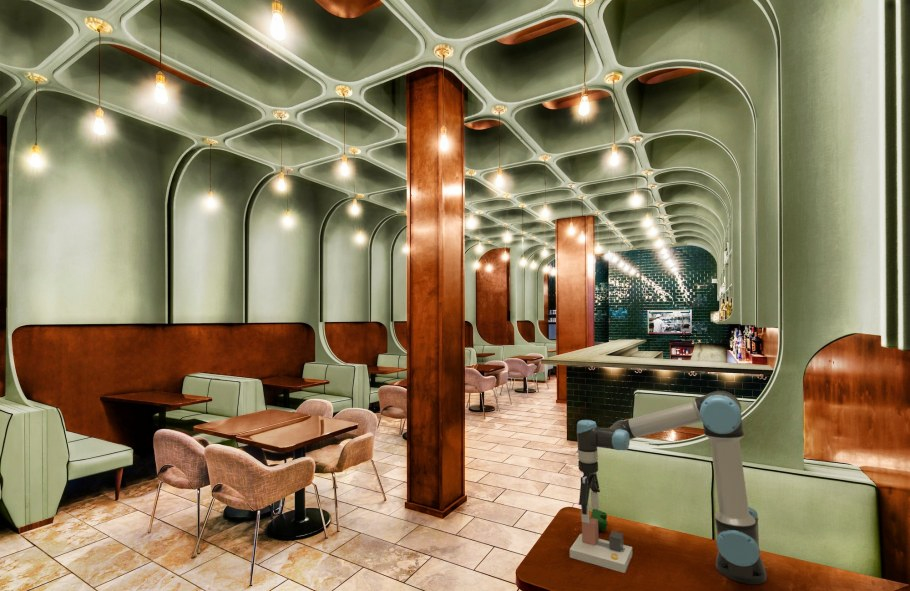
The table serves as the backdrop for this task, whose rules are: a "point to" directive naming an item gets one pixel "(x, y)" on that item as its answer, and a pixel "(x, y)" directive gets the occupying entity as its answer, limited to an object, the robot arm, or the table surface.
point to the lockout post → (590, 531)
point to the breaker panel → (601, 554)
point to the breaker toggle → (616, 541)
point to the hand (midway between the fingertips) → (590, 515)
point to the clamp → (600, 519)
